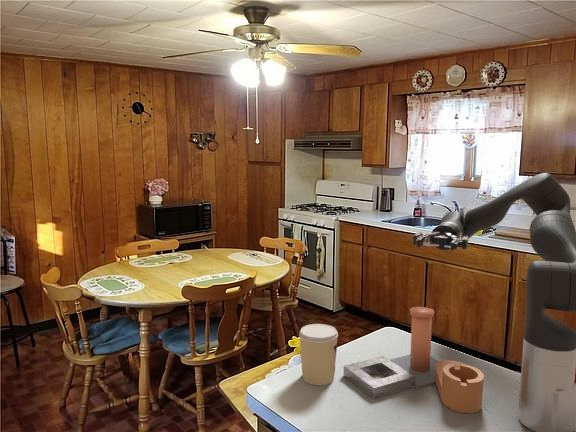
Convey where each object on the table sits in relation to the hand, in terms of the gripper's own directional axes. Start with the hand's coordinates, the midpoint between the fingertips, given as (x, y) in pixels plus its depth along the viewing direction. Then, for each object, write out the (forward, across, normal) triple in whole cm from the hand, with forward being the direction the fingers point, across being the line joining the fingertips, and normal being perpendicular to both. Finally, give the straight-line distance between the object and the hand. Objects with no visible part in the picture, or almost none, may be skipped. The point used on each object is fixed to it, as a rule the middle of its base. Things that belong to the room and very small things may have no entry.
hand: (435, 245), depth 120 cm
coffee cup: (+27, -21, +30) cm, 46 cm away
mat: (+11, 0, +30) cm, 32 cm away
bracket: (+18, +10, +30) cm, 36 cm away
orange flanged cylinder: (+11, 0, +30) cm, 32 cm away
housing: (+22, -8, +30) cm, 38 cm away
